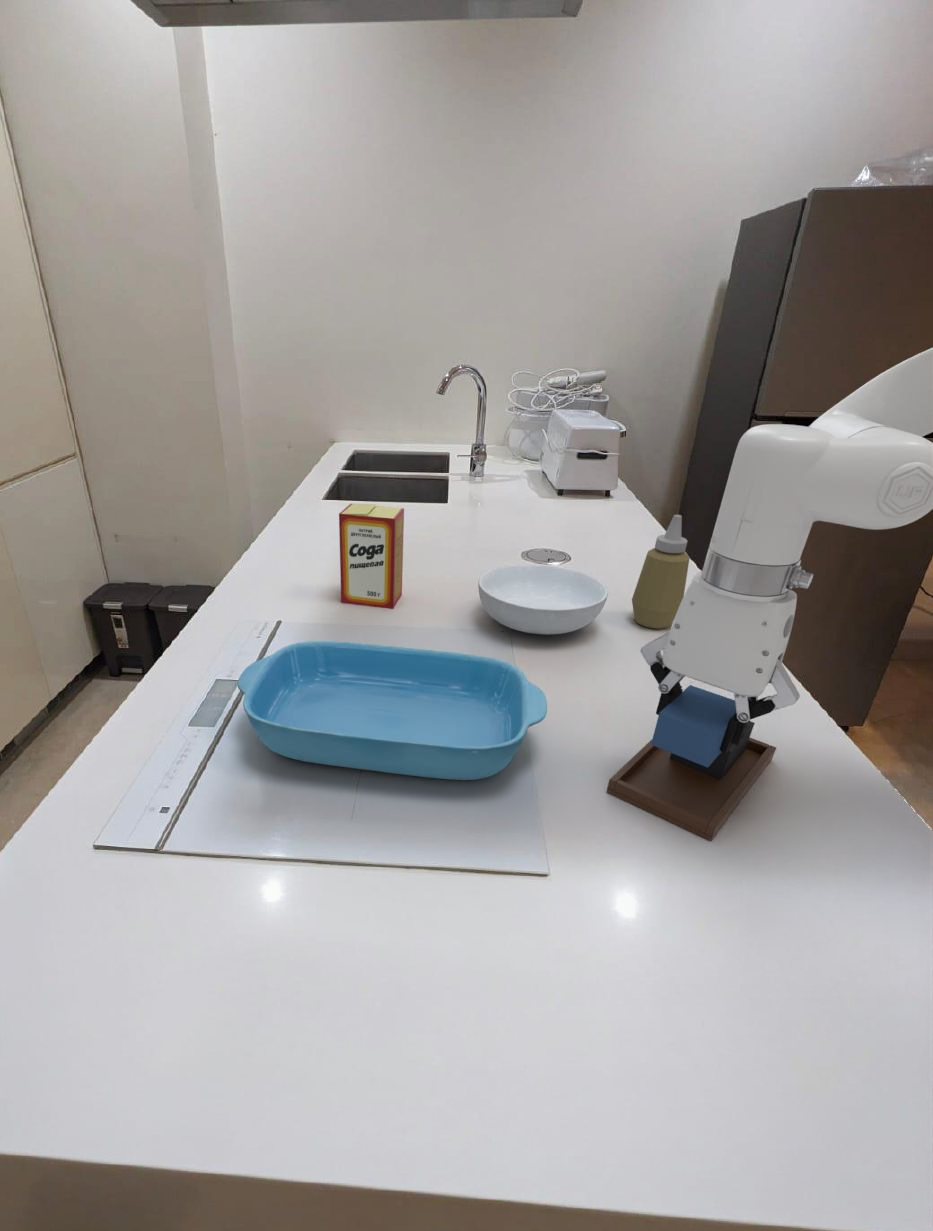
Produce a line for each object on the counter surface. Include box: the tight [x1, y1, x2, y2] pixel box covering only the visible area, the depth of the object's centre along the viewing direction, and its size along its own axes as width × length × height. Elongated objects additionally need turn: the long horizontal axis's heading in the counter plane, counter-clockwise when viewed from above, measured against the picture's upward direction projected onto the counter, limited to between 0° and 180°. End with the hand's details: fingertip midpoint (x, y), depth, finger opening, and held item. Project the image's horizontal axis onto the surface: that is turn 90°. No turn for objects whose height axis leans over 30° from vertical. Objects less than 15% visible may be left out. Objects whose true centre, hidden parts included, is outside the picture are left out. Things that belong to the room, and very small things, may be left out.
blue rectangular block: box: [651, 684, 736, 767], centre depth 71 cm, size 6×8×4 cm
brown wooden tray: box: [606, 737, 777, 842], centre depth 77 cm, size 12×20×2 cm, turn 138°
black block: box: [670, 720, 756, 780], centre depth 79 cm, size 6×8×4 cm
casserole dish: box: [237, 640, 548, 781], centre depth 82 cm, size 37×22×7 cm, turn 81°
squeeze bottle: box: [631, 514, 690, 629], centre depth 109 cm, size 8×8×18 cm
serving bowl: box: [477, 563, 609, 635], centre depth 111 cm, size 21×21×7 cm
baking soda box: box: [338, 503, 405, 609], centre depth 116 cm, size 10×6×16 cm
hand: (695, 733), depth 71 cm, fingers closed on blue rectangular block, 6 cm apart
